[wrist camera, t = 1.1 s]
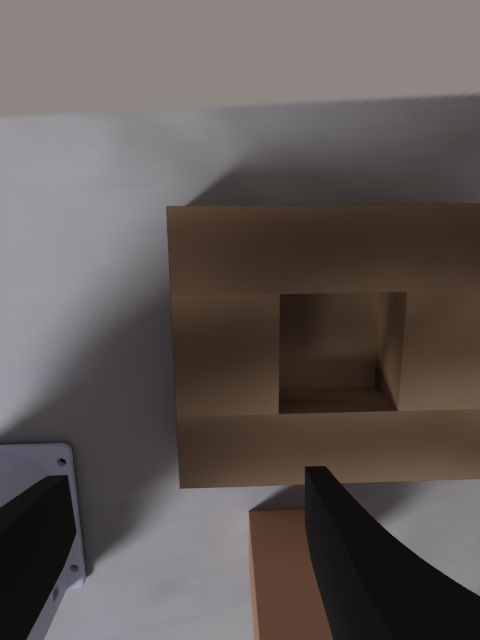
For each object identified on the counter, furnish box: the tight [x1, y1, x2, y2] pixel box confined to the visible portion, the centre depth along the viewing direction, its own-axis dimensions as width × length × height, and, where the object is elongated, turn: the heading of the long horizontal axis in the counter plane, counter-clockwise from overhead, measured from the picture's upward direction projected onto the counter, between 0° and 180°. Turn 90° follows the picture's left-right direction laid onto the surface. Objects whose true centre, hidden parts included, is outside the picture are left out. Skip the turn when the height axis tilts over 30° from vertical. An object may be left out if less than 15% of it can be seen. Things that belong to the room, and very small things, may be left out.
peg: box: [249, 509, 333, 640], centre depth 20 cm, size 4×4×8 cm
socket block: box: [166, 203, 480, 489], centre depth 20 cm, size 13×15×4 cm
